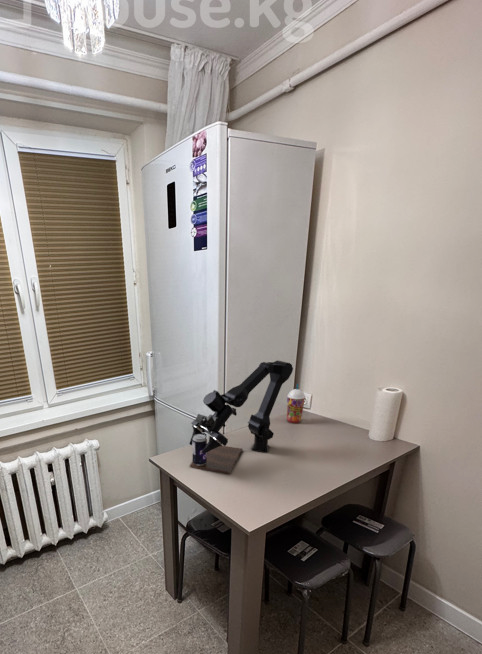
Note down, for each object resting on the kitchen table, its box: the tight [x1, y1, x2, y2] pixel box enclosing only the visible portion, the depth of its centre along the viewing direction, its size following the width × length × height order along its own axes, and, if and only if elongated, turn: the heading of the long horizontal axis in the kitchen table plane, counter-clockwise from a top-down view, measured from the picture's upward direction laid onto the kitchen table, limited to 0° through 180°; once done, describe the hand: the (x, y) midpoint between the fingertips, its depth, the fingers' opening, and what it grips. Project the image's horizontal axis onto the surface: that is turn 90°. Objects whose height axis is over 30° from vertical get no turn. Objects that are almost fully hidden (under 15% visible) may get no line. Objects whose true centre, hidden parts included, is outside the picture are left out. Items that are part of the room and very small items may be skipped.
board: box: [189, 445, 243, 475], centre depth 150 cm, size 22×16×1 cm
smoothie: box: [286, 383, 306, 424], centre depth 181 cm, size 8×8×20 cm
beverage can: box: [191, 433, 208, 466], centre depth 143 cm, size 6×6×12 cm
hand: (196, 448), depth 142 cm, fingers open, 9 cm apart
